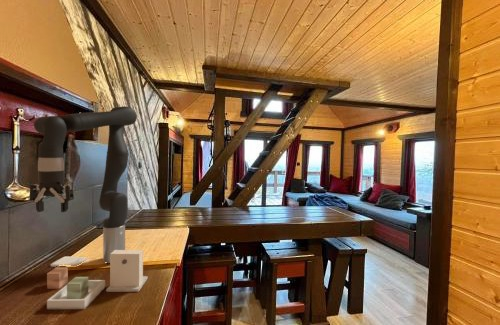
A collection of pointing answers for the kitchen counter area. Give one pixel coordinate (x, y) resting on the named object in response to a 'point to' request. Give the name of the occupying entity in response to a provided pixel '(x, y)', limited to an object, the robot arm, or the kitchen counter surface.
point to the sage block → (77, 288)
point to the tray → (63, 303)
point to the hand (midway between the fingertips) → (52, 211)
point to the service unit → (126, 271)
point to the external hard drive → (69, 261)
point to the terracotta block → (57, 278)
